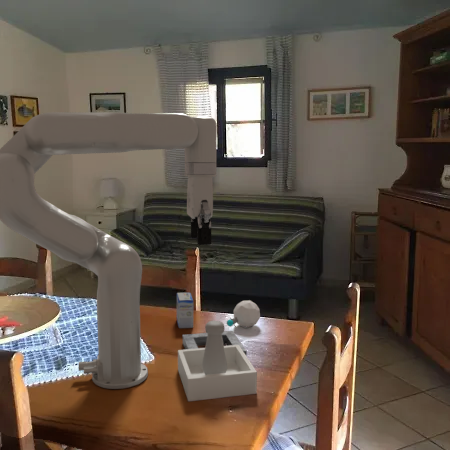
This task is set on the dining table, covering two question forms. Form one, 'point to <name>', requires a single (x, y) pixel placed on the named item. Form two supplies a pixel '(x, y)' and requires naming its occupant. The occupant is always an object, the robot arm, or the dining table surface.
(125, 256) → the robot arm
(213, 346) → the salt shaker
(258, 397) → the dining table surface
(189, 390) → the bin
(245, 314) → the perfume bottle
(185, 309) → the medicine box
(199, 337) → the collar block
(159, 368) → the dining table surface
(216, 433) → the dining table surface
